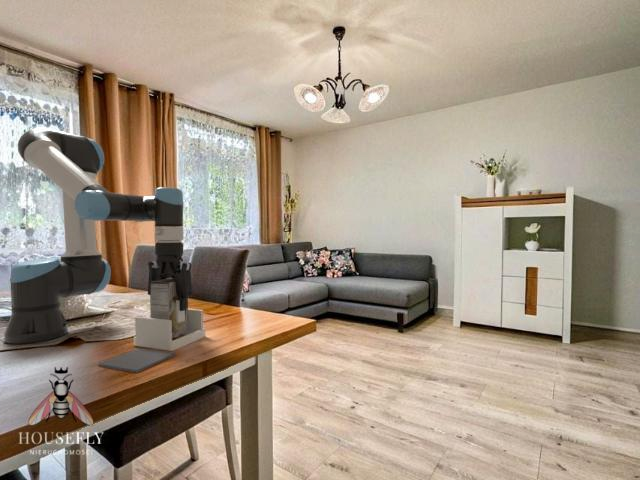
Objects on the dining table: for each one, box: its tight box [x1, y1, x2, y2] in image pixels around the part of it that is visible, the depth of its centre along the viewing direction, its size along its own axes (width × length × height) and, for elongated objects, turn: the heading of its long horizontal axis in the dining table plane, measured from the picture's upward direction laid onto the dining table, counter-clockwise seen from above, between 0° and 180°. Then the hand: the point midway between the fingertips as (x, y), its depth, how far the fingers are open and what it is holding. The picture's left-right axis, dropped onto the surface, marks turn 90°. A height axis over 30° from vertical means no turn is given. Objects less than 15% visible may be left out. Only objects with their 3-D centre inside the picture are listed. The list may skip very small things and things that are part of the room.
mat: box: [98, 347, 177, 374], centre depth 87 cm, size 12×12×1 cm
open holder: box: [132, 308, 206, 352], centre depth 102 cm, size 14×14×8 cm
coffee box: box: [149, 277, 189, 339], centre depth 102 cm, size 9×6×16 cm
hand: (169, 320), depth 102 cm, fingers closed on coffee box, 7 cm apart
